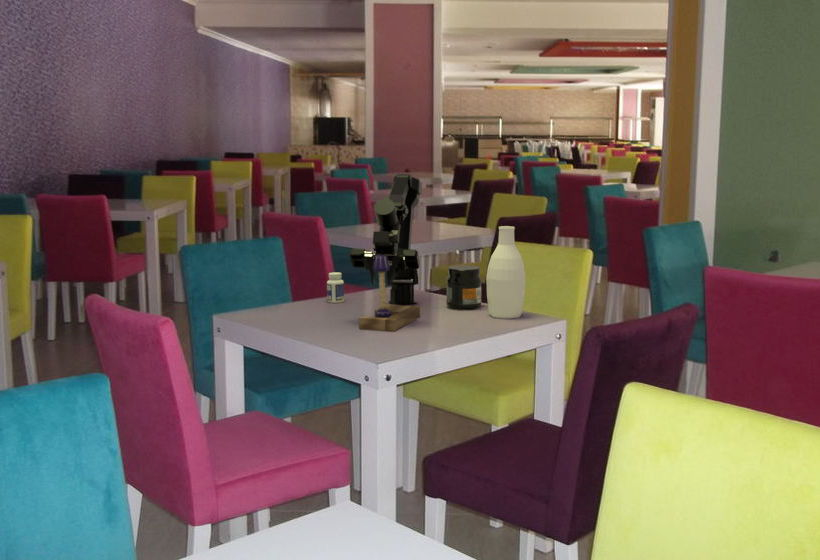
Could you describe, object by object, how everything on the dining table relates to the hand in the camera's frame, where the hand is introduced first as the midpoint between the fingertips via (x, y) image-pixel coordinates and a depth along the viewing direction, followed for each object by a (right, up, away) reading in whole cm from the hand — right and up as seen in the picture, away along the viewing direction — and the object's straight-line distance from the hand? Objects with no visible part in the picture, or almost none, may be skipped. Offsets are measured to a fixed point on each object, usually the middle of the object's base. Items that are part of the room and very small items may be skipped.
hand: (380, 283), depth 249 cm
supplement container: (+24, -7, +28) cm, 38 cm away
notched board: (+2, -11, +6) cm, 13 cm away
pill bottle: (-15, -6, +38) cm, 41 cm away
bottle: (+35, -9, +16) cm, 40 cm away
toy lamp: (0, -9, +3) cm, 9 cm away
